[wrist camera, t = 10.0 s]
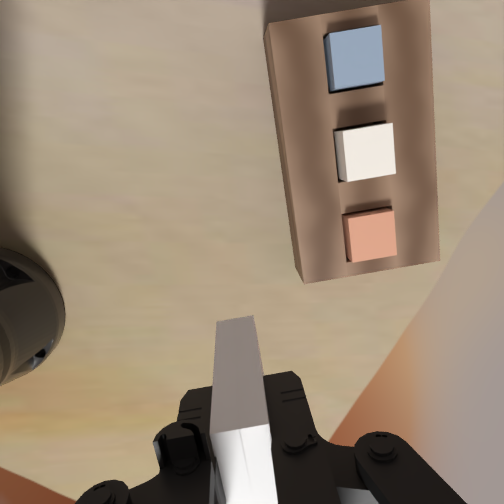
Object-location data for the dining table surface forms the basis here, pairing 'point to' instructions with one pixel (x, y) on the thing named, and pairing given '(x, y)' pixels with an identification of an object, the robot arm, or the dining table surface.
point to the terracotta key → (369, 234)
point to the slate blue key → (354, 58)
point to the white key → (365, 152)
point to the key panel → (349, 117)
